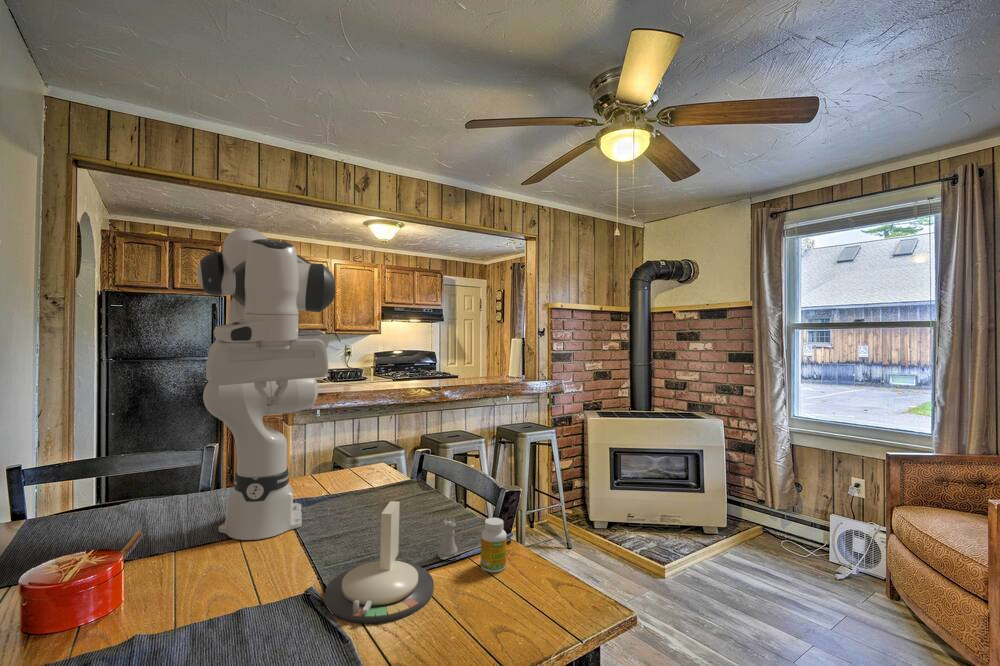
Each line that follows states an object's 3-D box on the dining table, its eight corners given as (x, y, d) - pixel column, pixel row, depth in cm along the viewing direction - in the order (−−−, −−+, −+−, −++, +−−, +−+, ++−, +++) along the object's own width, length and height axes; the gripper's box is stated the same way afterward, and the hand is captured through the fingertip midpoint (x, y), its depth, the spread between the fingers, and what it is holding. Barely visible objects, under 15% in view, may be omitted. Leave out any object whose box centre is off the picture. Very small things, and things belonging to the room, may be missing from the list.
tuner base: (304, 591, 89) (305, 575, 89) (394, 556, 104) (394, 542, 104) (361, 639, 75) (361, 620, 75) (455, 592, 90) (455, 576, 90)
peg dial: (360, 558, 100) (361, 500, 100) (426, 560, 99) (427, 502, 99) (323, 614, 80) (325, 541, 80) (406, 616, 79) (407, 544, 79)
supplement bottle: (491, 576, 96) (492, 528, 96) (475, 565, 100) (476, 520, 100) (511, 567, 100) (512, 521, 100) (494, 558, 104) (495, 514, 104)
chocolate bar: (145, 538, 110) (145, 529, 110) (127, 561, 99) (127, 551, 99) (131, 540, 110) (131, 530, 110) (112, 564, 98) (112, 553, 98)
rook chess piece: (454, 562, 101) (455, 525, 101) (434, 560, 102) (435, 523, 102) (460, 553, 106) (461, 517, 106) (441, 551, 107) (442, 515, 107)
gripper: (321, 328, 95) (319, 395, 96) (203, 328, 81) (203, 408, 82) (334, 330, 90) (333, 401, 91) (212, 331, 76) (212, 416, 77)
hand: (270, 405), depth 86 cm, fingers closed
